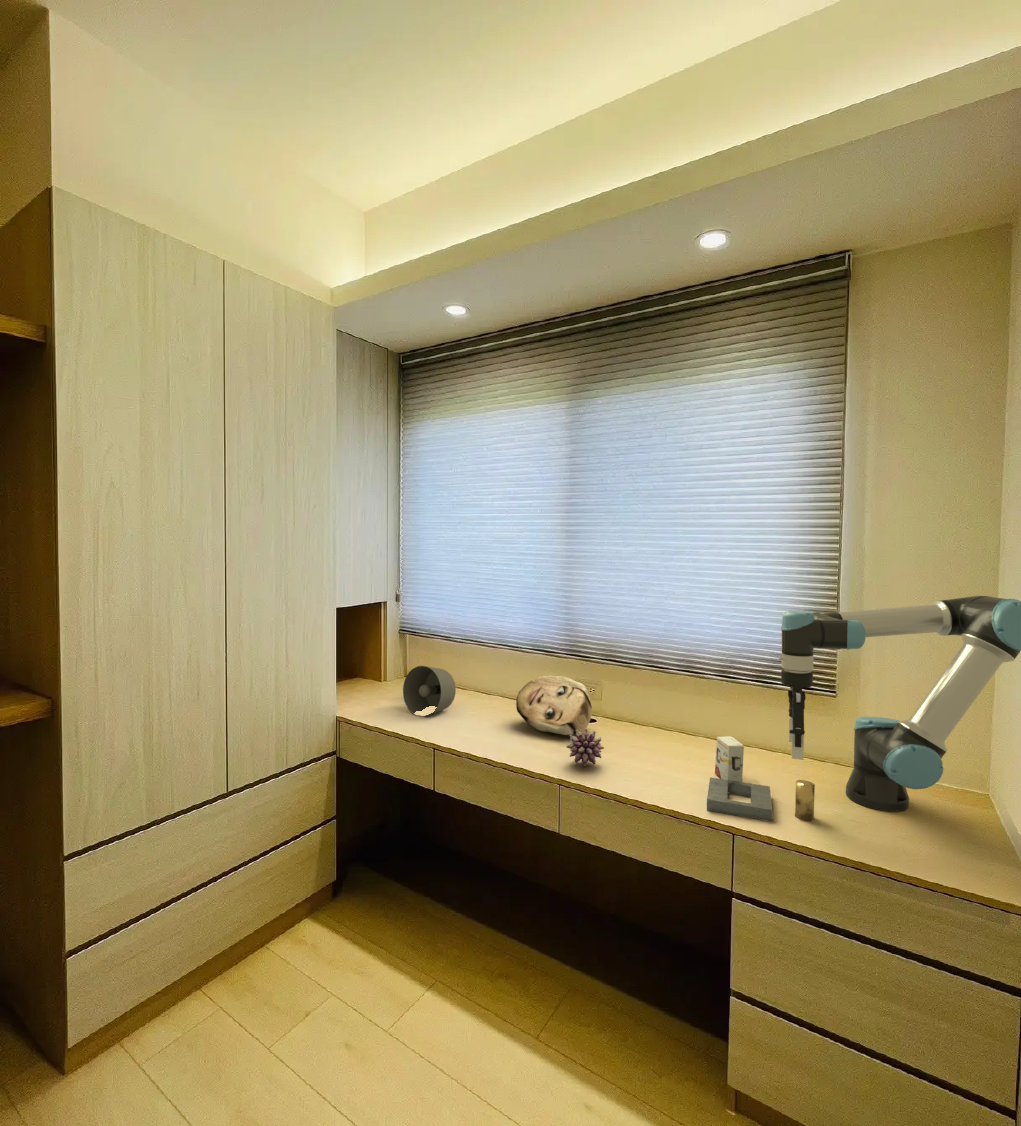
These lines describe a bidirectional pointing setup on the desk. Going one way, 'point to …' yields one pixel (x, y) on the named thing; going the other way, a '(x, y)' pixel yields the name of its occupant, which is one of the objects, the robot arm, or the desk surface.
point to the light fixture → (428, 689)
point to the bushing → (804, 800)
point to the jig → (755, 809)
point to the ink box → (729, 759)
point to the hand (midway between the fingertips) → (795, 750)
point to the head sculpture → (555, 705)
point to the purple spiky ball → (585, 747)
